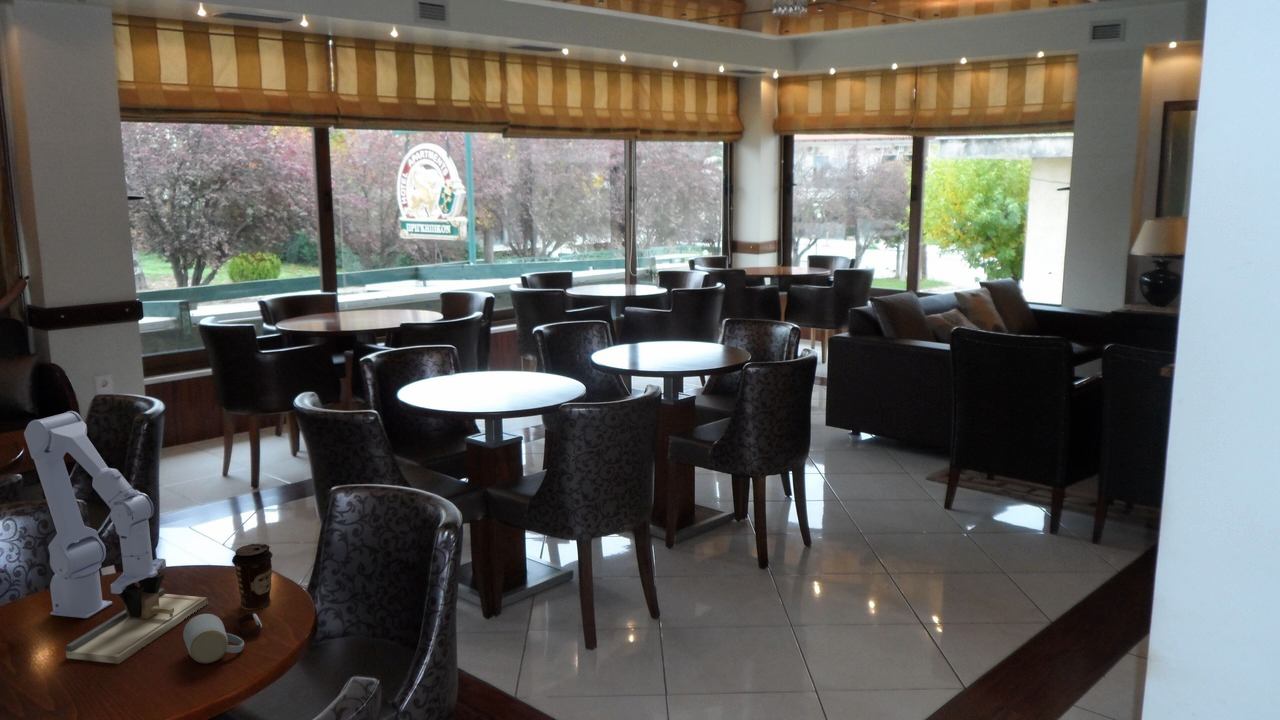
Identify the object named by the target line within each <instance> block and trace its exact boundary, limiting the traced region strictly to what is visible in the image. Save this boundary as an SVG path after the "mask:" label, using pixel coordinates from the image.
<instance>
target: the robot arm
mask: <svg viewBox="0 0 1280 720" xmlns="http://www.w3.org/2000/svg"><path fill="white" fill-rule="evenodd" d="M87 434H88V427H87V424H86V423H85V422H84V419H83V418H82V417H81V416H80V414H79V413H78V412H76V411H75V410H74V411H73V410H68V411H66V412H64V413H60V414H55V415H52V416H47V417H44V418H39V419H33V420H31V421H30V422H28V424H27V426H26V428H25V430H24V432H23V435H24V440H25V442H26V444H27V448H28V451H29V454H30V457H31V459H32V460H33V462H34V464H35V467H36V472H37V474H38V477H39V480H40V484H41V486H42V489H43V493H44V496H45V500H46V502H47V505H48V506H47V507H48V508H49V512H50V515H51V519H52V521H53V523H54V527H55V531H56V535H55V536H54V537H53V539H52V540H51V541H50V542H49V544H48V546H47V548H48V551H49V565H50V568H51V570H52V571H53V573H54V575H52V578H51V580H50V585H49V589H50V597H51V603H52V611H51V612H50V613H49V614H50V615H51V616H60V617H70V618H78V619H79V618H82V619H88V618H90V617H92V616H94V615H95V614H97V613H98V612H100V611H102V610H103V609H105V608H107V607H109V606H111V605H112V604H113V601H111V600H103V593H102V587H101V586H102V585H101V577H100V570H99V569H100V568H101V567H102V563H103V562H104V561H105V559H106V555H107V552H106V551H107V550H106V549H107V548H106V546H105V544H104V542H103V541H102V540H101V539H100V537H99V534H98V531H97V530H96V529H94V528H92V527H88V526H86V525H85V524H84V521H83V517H82V513H81V511H80V508H79V503H78V501H77V497H76V495H75V492H74V488H73V485H72V482H71V479H70V475H69V472H68V470H67V466H66V463H65V460H64V456H65V455H66V453H68V454H69V455H70V456H71V457H72V458H73V459H74V460H75V461H76V462H77V463H78V464H79V465H80V466H81V467H82V468H83V469H84V471H86V472H87V473H88V474H89V475H90V476H91V477H92V482H91V483H92V484H91V486H92V488H93V490H95V492H96V493H97V494H98V495H99V497H100V498H101V499H102V500H103V502H104V503H105V504H106V505H107V506H108V507H109V509H110V511H111V512H110V513H109V518H110V520H111V522H112V523H113V525H114V527H115V532H116V534H117V535H118V536H119V544H120V553H121V561H122V570H123V572H122V574H121V575H120V576H119V577H117V579H116V580H115V581H114V582H112V583H111V584H110V592H111V594H116V595H118V597H120V599H121V600H122V601H123V603H124V604H125V608H126V607H127V609H128V611H129V614H130V616H131V617H140V616H141V611H142V610H141V598H142V593H143V592H147V593H158V591H159V589H160V588H161V585H162V583H163V580H164V578H165V573H164V572H159V570H163V569H165V568H166V567H167V561H166V558H162V557H161V558H160V557H158V558H156V559H154V560H153V552H152V542H151V541H152V540H151V533H150V532H151V531H150V525H149V523H150V522H149V519H150V518H152V516H153V515H154V510H155V508H154V504H153V501H152V500H151V499H150V496H149V495H148V494H146V493H144V492H141V491H139V490H138V489H134V488H133V487H132V485H131V484H130V483H129V482H128V481H127V479H126V478H125V477H124V476H123V474H122V473H121V472H120V471H119V469H117V468H111V467H108V465H107V464H106V461H104V459H103V458H102V457H101V455H100V453H99V452H98V450H97V449H96V447H95V446H94V445H93V443H92V442H91V441H90V439H89V437H88V435H87ZM136 583H138V585H139V586H138V585H137V584H136Z"/></svg>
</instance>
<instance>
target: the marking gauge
mask: <svg viewBox="0 0 1280 720" xmlns="http://www.w3.org/2000/svg"><path fill="white" fill-rule="evenodd" d="M125 609H126V614H127V617H131V616H130V614H129V611H128V609H127V607H126V606H125ZM141 610H142V611H141V616H140V617H132V618H142V619H148V618H150V617H151V616H153V615H154V614H156V613H163V614H170V617H173V613H174V608H170V607H160V606H159V597H158V593H147V592H143V593H142V598H141Z"/></svg>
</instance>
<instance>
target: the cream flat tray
mask: <svg viewBox="0 0 1280 720" xmlns="http://www.w3.org/2000/svg"><path fill="white" fill-rule="evenodd" d="M158 597H159V606H160V607H170V608H174V613H173V617H170V614H163V613H156V614H154V615H153V616H151V617H150V618H148V619H142V618H132V617H127V614H126V608H125V609H124V610H123V611H121V612H119V613H117V614H116V615H114V616H112V617H111V618H109V619H107V620H106V621H105V622H103V623H101V624H99V625H97V626H96V627H94V628H92V629H91V630H90V631H87V632H86V633H85V634H83V635H81V636H79V637H77V638H76V639H74V640H73V641H71V642H70V643H67V644H66V645H65V648H66V649H65V650H66V651H65V655H66V659H69V660H70V659H71V660H72V659H73V660H80V661H81V660H82V661H89V662H97V663H98V662H99V663H109V664H121V663H122V662H124V661H125V660H127V659H128V658H130V657H131V656H133V655H134V654H136V653H137V652H139V651H140V650H141V648H142V647H143V648H145V647H146V646H147V644H148V645H149V644H151V643H152V642H154V641H155V640H156V639H159V637H161V636H163V635H164V634H166V632H168V631H170V630H172V629H173V628H174V627H176V626H177V625H178V624H180V623H181V622H183V621H185V620H186V619H188V618H189V617H190V615H191V614H192V613H193V614H195V613H196V612H198V611H199V610H201V609H202V608H204V607H206V606H207V605H208V604H209V601H208V597H207V596H206V597H205V596H194V595H191V596H190V595H181V594H173V593H172V594H170V593H166V589H165V588H162V587H160V588H159V591H158ZM206 604H207V605H206ZM203 606H204V607H203ZM200 608H201V609H200ZM198 609H199V610H198ZM197 610H198V611H197ZM194 612H195V613H194ZM193 614H192V615H193ZM192 615H191V616H192ZM188 616H189V617H188ZM187 617H188V618H187ZM185 618H186V619H185ZM184 619H185V620H184ZM143 648H142V649H143ZM138 650H139V651H138Z"/></svg>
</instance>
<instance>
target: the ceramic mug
mask: <svg viewBox="0 0 1280 720" xmlns="http://www.w3.org/2000/svg"><path fill="white" fill-rule="evenodd" d="M182 634H183V635H182V636H183V641H184V643H185V646H186V648H187V651H188V653H189V655H190V657H191V658H192V659H193V661H196V662H198V663H199V664H212V663H215V662H217V661H218V660H220V659H221V658H222V657H223V656H224V655H225V653H228V654H238V653H239V654H240V653H241V652H242V651H243V649H244V647H245V641H244V640H243V638H241V637H239V636H237V635H234V634H232V633H229V632H226V629H225V625H224V623H223V621H222V620H221V618H220V617H218V616H217V615H215V614H212V613H202V614H198V615H196V616H194V617H192V618H190V620H189V621H187V623H186V624H185V626H184V628H183V633H182ZM229 643H232V644H235V645H231V644H230V645H229Z"/></svg>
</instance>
